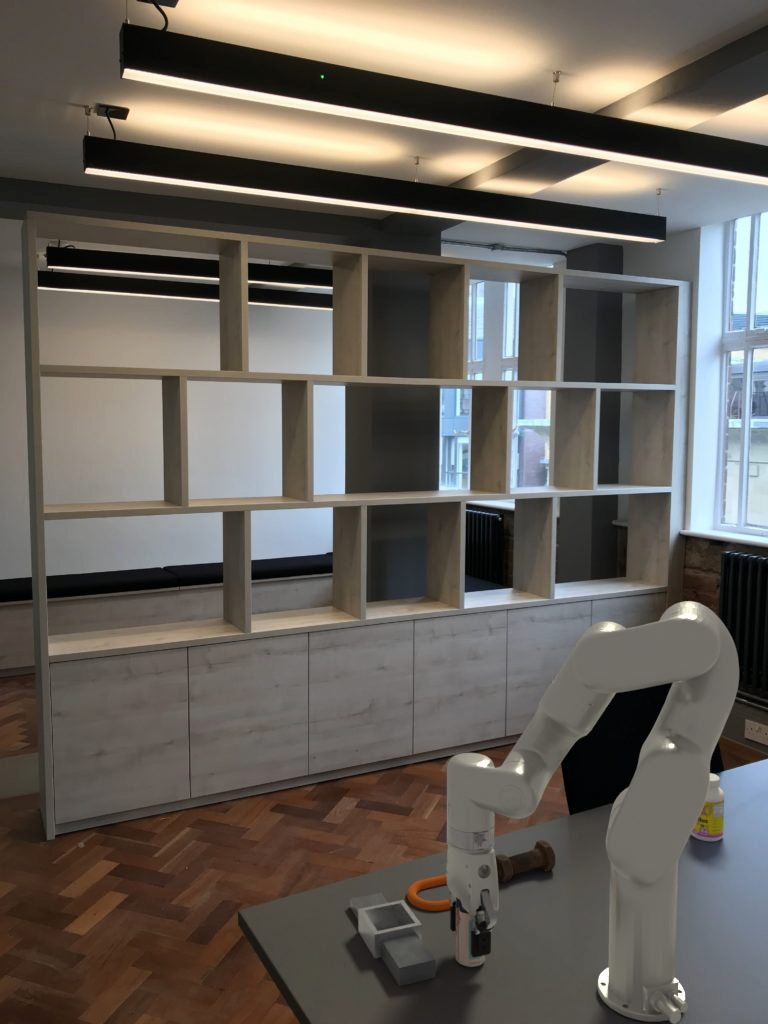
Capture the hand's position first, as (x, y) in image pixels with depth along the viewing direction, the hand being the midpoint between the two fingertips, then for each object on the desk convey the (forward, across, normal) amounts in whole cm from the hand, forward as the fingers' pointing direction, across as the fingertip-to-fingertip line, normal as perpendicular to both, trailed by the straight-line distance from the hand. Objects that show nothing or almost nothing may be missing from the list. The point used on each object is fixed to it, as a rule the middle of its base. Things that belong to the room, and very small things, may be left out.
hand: (470, 940), depth 137 cm
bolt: (+4, +22, -20) cm, 30 cm away
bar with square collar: (+3, +10, +10) cm, 15 cm away
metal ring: (+4, +20, -5) cm, 21 cm away
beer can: (+4, 0, 0) cm, 4 cm away
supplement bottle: (+3, +22, -66) cm, 70 cm away
